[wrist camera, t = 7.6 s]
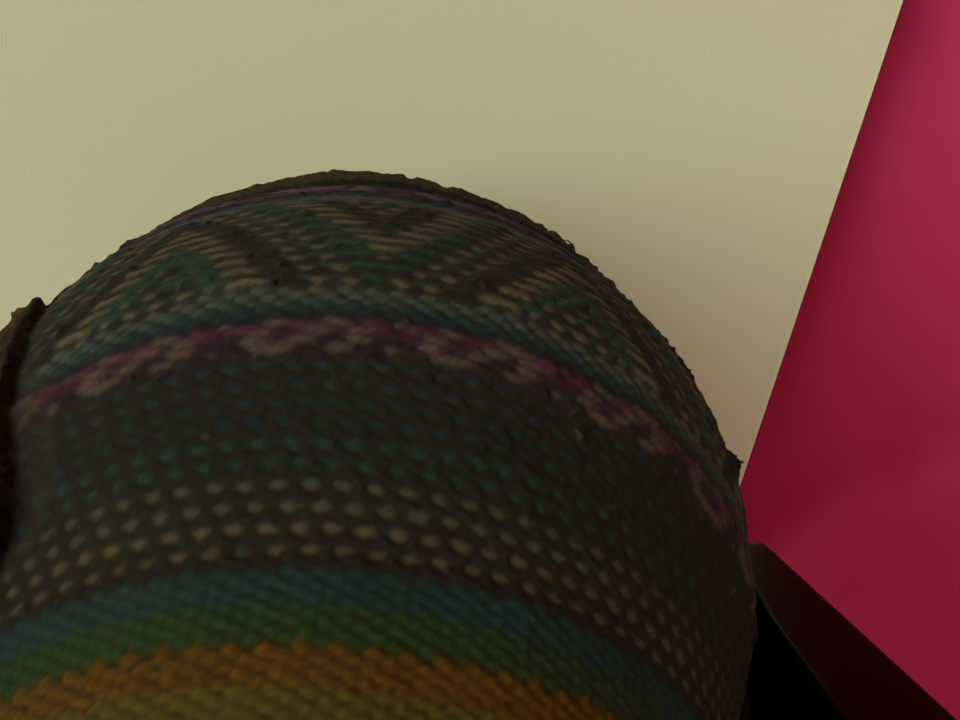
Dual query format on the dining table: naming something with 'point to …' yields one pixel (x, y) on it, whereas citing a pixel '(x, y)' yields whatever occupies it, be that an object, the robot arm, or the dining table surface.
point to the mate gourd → (362, 477)
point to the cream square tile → (463, 137)
